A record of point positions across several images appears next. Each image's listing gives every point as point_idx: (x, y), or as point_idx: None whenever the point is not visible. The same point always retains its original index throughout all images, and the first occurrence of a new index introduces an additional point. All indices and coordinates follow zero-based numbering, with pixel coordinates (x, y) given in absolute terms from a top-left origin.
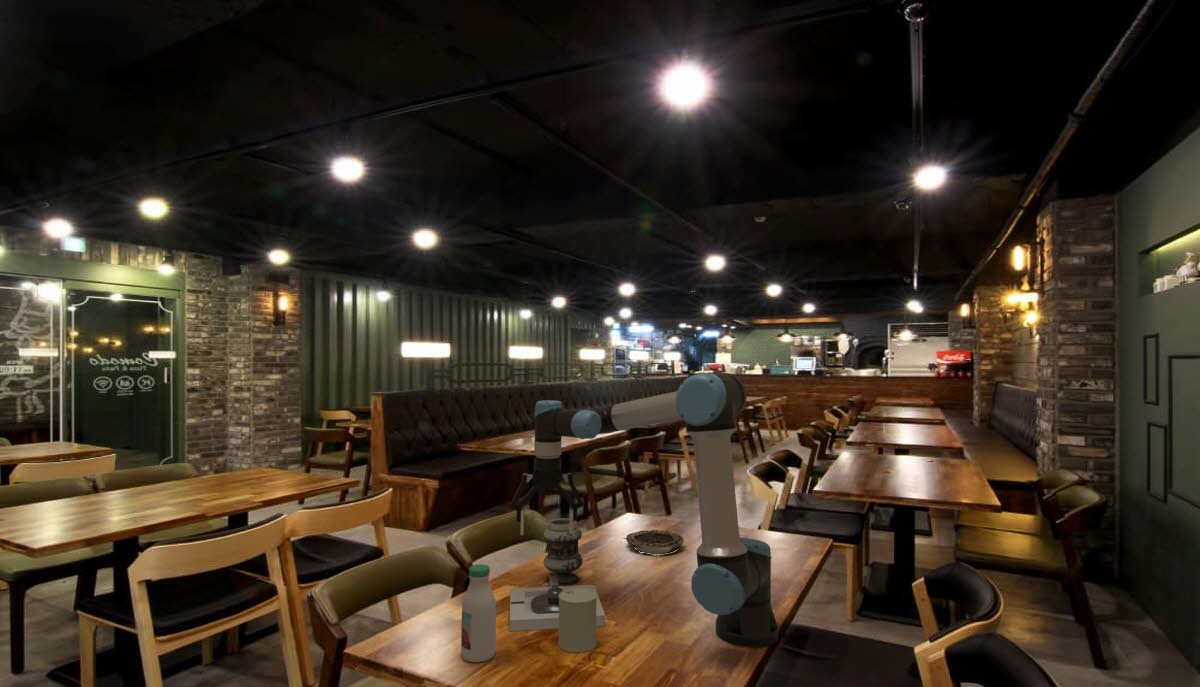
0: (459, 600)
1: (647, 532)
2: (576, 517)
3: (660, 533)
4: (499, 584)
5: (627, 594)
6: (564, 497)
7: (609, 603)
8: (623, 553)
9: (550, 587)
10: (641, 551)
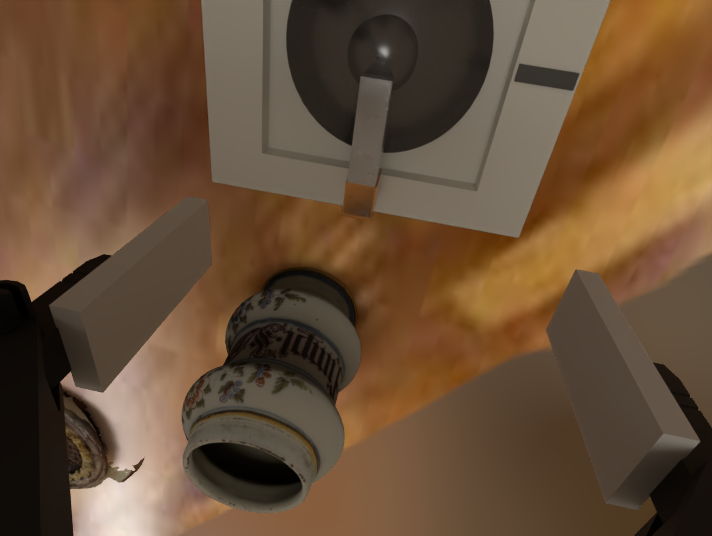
0: (690, 255)
1: None
2: (81, 270)
3: None
4: (507, 335)
5: (115, 136)
6: (29, 475)
7: (179, 70)
8: (126, 416)
9: (381, 161)
10: (76, 405)
